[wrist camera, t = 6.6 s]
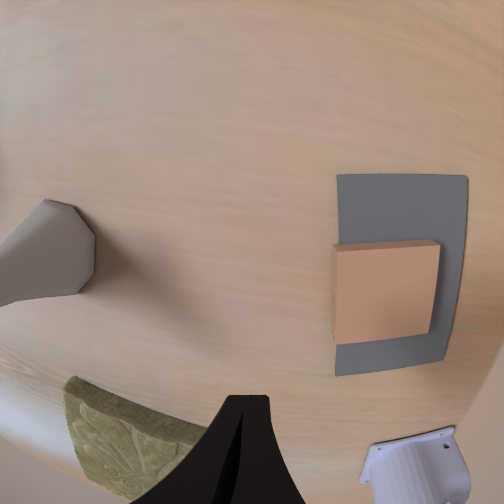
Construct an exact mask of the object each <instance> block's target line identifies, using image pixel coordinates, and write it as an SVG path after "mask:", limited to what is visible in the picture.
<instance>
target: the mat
mask: <svg viewBox="0 0 504 504" xmlns="http://www.w3.org/2000/svg"><path fill="white" fill-rule="evenodd" d="M337 191H338V217H339V244H354V243H371V242H388V241H405V240H422V239H431V240H433V241H434V242H436V243H438V244H439V245H440V255H439V265H438V274H437V282H436V289H435V296H434V302H433V309H432V314H431V320H430V325H429V330H428V333H426V334H419V335H413V336H406V337H399V338H392V339H384V340H376V341H367V342H358V343H348V344H337V349H336V364H335V376H345V375H354V374H362V373H370V372H378V371H385V370H391V369H398V368H404V367H410V366H415V365H421V364H426V363H431V362H436V361H441V360H443V357H444V354H445V350H446V346H447V342H448V338H449V334H450V330H451V325H452V321H453V316H454V311H455V306H456V301H457V295H458V289H459V283H460V276H461V269H462V261H463V253H464V243H465V231H466V215H467V176H464V175H438V174H348V175H337Z"/></svg>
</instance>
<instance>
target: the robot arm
mask: <svg viewBox="0 0 504 504" xmlns="http://www.w3.org/2000/svg"><path fill="white" fill-rule="evenodd" d="M453 431H454V428H453V427H452V426H451V427H448V428H444V429H441V430H437V431H434V432H430V433H426V434H422V435H418V436H414V437H410V438H405V439H400V440H396V441H391V442H385V443H380V444H375V445H372V446H371V447H370V449H369V453H368V456H367V459H366V462H365V465H364V468H363V471H362V474H361V477H360V479H359V483H360V484H365V483H370V484H371V490H372V495H373V501H374V504H465V502H466V501H467V500H468V498H469V495H470V491H471V478H470V473H469V471H468V468H467V466H466V463H465V461H464V459H463V456H462V454H461V452H460V450H459V448H458V445H457V443H456V441H455V439H454V437H453V435H452V433H453ZM130 504H306V503H305V502H304V500H303V498H302V497H301V495H300V493H299V491H298V489H297V488H296V486H295V484H294V482H293V480H292V478H291V476H290V474H289V472H288V469H287V467H286V465H285V462H284V460H283V458H282V455H281V452H280V450H279V447H278V444H277V441H276V438H275V434H274V431H273V427H272V423H271V414H270V401H269V397H268V396H266V395H229V396H228V397H227V398H226V399H225V401H224V403H223V405H222V407H221V408H220V410H219V412H218V413H217V415H216V417H215V418H214V420H213V421H212V423H211V424H210V426H209V427H208V428H207V430H206V431H205V433H204V434H203V435H202V437H201V438H200V439H199V441H198V442H197V443H196V444H195V446H194V447H193V448H192V449H191V450H190V451H189V453H188V454H187V455H186V456H185V457H184V458H183V460H182V461H181V462H180V463H179V464H178V465H177V466H176V467H175V468H174V469H173V470H172V471H171V472H170V473H169V474H168V475H167V476H165V477H164V478H163V479H162V480H161V481H160V482H158V483H157V484H156V485H155V486H154V487H152V488H151V489H150V490H149V491H147V492H146V493H145V494H143V495H142V496H140V497H139V498H138V499H136V500H134V501H133V502H131V503H130Z"/></svg>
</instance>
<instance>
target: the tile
mask: <svg viewBox="0 0 504 504" xmlns="http://www.w3.org/2000/svg"><path fill="white" fill-rule="evenodd" d="M439 255H440V245H439V244H438V243H436V242H434V241H433V240H431V239H422V240H405V241H388V242H371V243H354V244H337V245H333V306H332V336H333V340H334V344H335V345H337V344H348V343H358V342H367V341H376V340H384V339H392V338H399V337H406V336H413V335H419V334H426V333H428V330H429V325H430V320H431V314H432V309H433V302H434V296H435V289H436V282H437V274H438V265H439Z"/></svg>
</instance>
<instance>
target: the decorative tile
mask: <svg viewBox="0 0 504 504" xmlns="http://www.w3.org/2000/svg"><path fill="white" fill-rule="evenodd" d="M61 393H62V399H63V405H64V410H65V415H66V419H67V425H68V429H69V433H70V436H71V439H72V442H73V445H74V449H75V453H76V455H77V458H78V460H79V463H80V465H81V467H82V469H83V472H84V474H85V475H86V477H87V479H89V480H91V481H94V482H96V483H97V484H99V485H101V486H103V487H104V488H106V489H108V490H110V491H111V492H113V493H115V494H117V495H120V496H123V497H124V498H127V499H129V500H131V501H134V500H136V499H138V498H139V497H140V496H142V495H143V494H145V493H146V492H147V491H149V490H150V489H151V488H152V487H154V486H155V485H156V484H157V483H158V482H160V481H161V480H162V479H163V478H164V477H165V476H167V475H168V474H169V473H170V472H171V471H172V470H173V469H174V468H175V467H176V466H177V465H178V464H179V463H180V462H181V461H182V460H183V458H184V457H185V456H186V455H187V454H188V453H189V451H190V450H191V449H192V448H193V447H194V446H195V444H196V443H197V442H198V441H199V439H200V438H201V437H202V435H203V434H204V433H205V431H206V430H207V428H205V427H202V426H199V425H196V424H192V423H189V422H186V421H183V420H180V419H177V418H174V417H172V416H169V415H166V414H163V413H160V412H157V411H154V410H152V409H149V408H146V407H144V406H141V405H139V404H136V403H134V402H131V401H129V400H127V399H124V398H122V397H119V396H117V395H115V394H112V393H110V392H108V391H106V390H103V389H101V388H99V387H97V386H95V385H93V384H90V383H88V382H86V381H84V380H82V379H80V378H78V377H76V376H73V377H71V378H70V379H69V380H68V381H67V383H66V384H65V385H64V386H63V387H62V389H61Z"/></svg>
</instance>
